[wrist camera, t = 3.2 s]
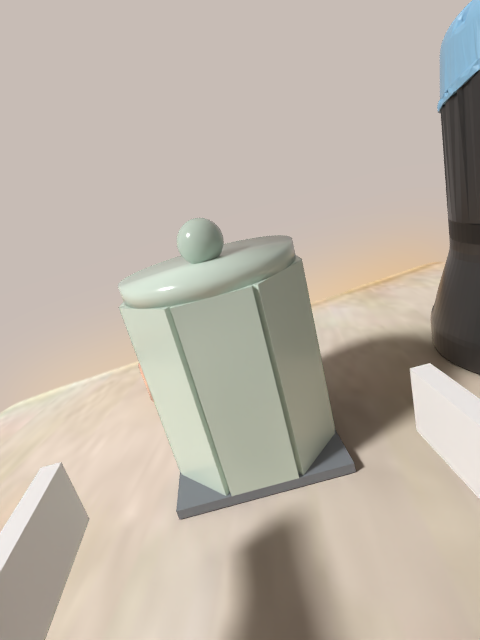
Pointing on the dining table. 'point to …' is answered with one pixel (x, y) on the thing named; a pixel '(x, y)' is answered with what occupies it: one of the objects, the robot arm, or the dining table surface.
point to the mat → (205, 499)
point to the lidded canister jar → (231, 358)
